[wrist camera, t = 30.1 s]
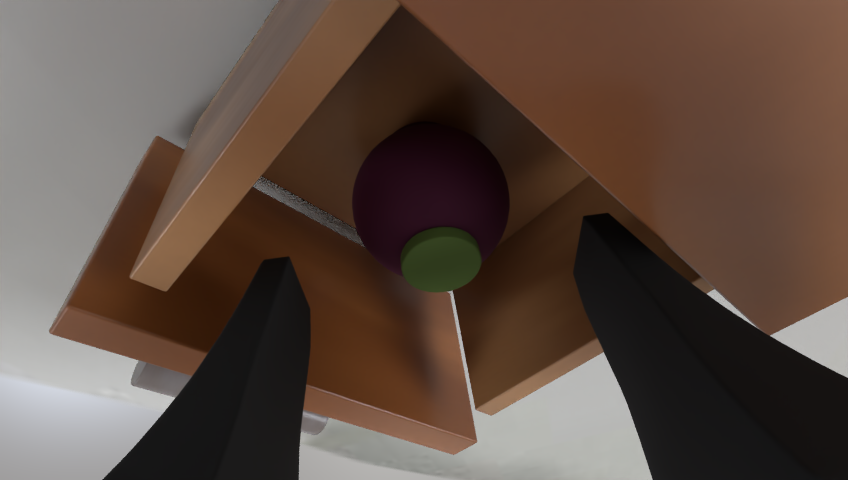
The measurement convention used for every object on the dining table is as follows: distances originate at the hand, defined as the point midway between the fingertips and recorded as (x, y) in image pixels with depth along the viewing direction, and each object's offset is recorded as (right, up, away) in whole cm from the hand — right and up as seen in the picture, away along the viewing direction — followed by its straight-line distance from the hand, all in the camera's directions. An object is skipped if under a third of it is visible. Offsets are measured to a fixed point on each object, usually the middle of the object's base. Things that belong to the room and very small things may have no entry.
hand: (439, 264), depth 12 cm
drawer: (-2, +3, +5) cm, 6 cm away
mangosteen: (0, +3, +3) cm, 5 cm away
